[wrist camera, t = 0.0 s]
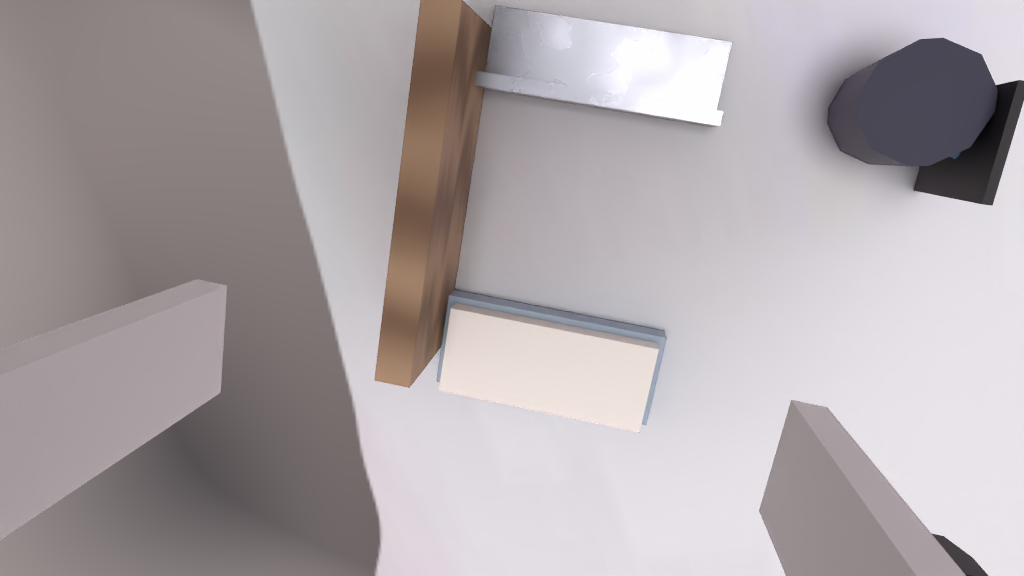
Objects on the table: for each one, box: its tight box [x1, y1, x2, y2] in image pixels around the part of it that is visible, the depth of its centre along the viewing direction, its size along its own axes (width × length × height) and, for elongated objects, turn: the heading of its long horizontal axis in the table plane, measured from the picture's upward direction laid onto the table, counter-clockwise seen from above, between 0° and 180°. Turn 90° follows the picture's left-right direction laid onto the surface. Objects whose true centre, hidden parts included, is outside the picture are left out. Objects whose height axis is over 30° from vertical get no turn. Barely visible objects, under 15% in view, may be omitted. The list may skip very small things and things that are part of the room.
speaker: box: [827, 38, 1024, 205], centre depth 33 cm, size 8×6×10 cm
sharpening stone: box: [437, 290, 666, 433], centre depth 43 cm, size 6×14×3 cm, turn 81°
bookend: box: [475, 6, 732, 127], centre depth 38 cm, size 5×14×3 cm, turn 81°
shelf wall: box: [375, 0, 492, 388], centre depth 38 cm, size 20×2×9 cm, turn 171°
